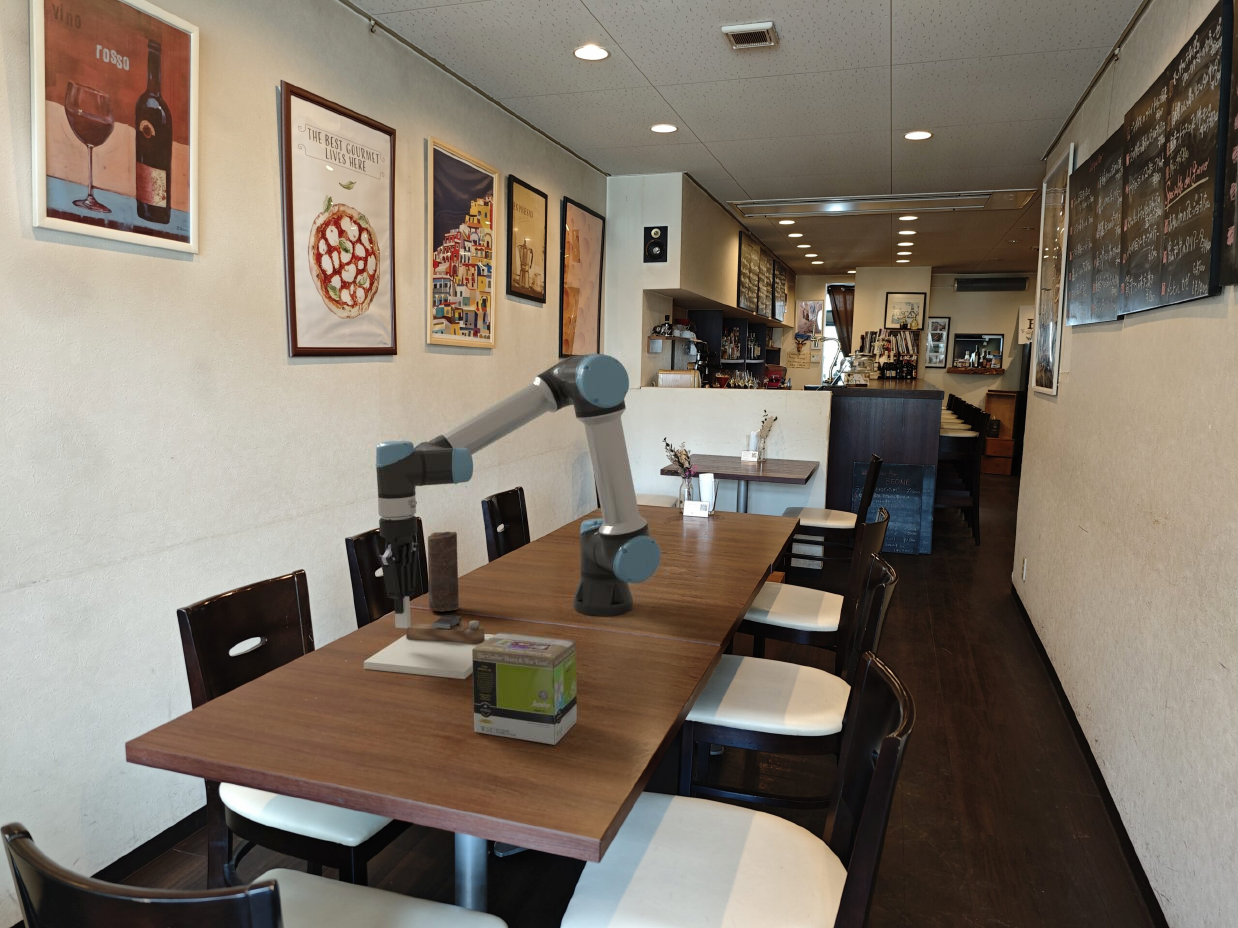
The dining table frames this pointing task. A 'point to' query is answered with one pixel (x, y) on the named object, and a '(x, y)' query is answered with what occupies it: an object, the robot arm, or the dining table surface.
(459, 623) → the keeper
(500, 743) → the dining table surface
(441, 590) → the candle
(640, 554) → the robot arm
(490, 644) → the tea box
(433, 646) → the base plate
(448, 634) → the link
